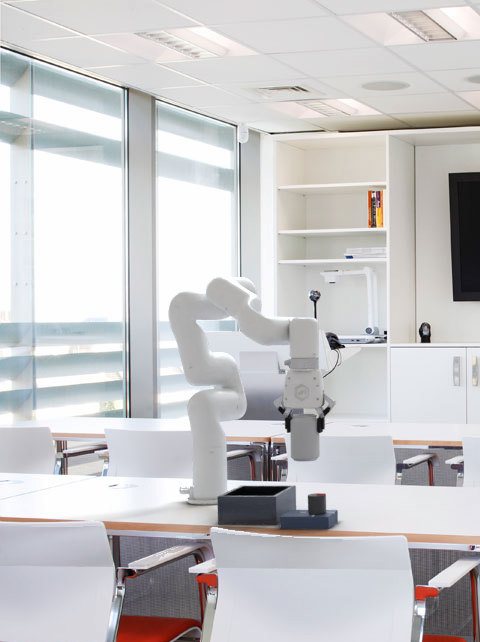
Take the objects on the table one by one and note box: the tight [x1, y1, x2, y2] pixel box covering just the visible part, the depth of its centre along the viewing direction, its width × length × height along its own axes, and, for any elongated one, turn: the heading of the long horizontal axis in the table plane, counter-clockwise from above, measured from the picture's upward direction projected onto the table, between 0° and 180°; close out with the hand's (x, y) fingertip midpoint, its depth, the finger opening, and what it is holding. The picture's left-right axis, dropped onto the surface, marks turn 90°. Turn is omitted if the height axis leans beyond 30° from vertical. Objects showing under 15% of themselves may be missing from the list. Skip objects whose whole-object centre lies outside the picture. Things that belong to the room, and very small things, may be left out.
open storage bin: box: [217, 484, 297, 526], centre depth 254 cm, size 15×17×7 cm
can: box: [290, 413, 321, 462], centre depth 259 cm, size 8×8×12 cm
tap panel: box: [279, 509, 339, 530], centre depth 244 cm, size 12×9×3 cm
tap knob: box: [307, 492, 327, 515], centre depth 243 cm, size 4×4×5 cm
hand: (304, 431), depth 259 cm, fingers closed on can, 7 cm apart
